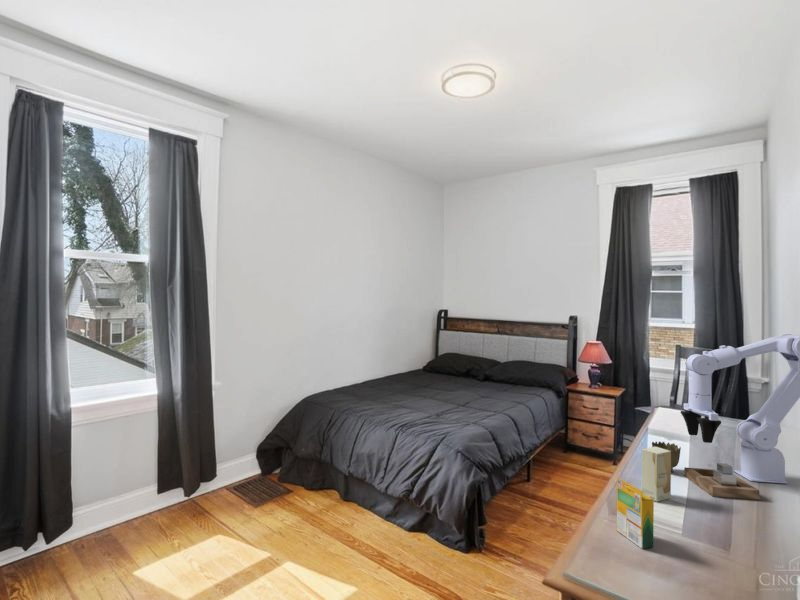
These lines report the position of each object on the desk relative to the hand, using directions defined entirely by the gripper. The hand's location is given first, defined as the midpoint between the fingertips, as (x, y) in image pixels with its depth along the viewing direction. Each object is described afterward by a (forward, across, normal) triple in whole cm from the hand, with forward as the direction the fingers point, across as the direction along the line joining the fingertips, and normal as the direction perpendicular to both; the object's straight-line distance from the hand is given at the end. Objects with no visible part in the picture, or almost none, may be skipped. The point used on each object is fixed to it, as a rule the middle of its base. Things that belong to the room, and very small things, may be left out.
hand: (700, 438), depth 127 cm
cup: (+10, +2, -10) cm, 15 cm away
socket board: (+10, +12, -2) cm, 16 cm away
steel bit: (+10, +15, -2) cm, 18 cm away
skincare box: (+10, +22, -22) cm, 33 cm away
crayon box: (+10, +44, -37) cm, 58 cm away
